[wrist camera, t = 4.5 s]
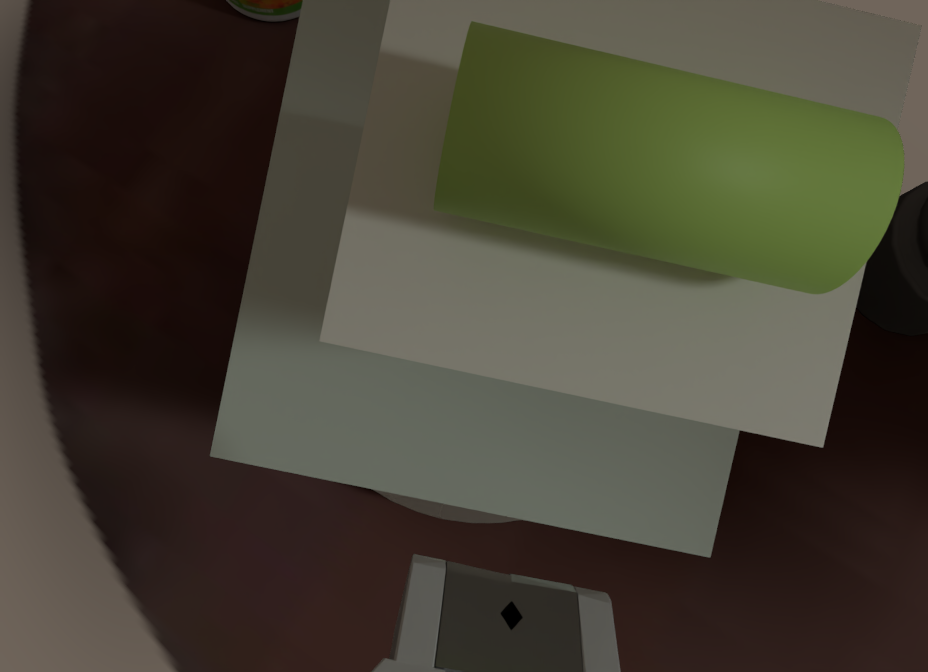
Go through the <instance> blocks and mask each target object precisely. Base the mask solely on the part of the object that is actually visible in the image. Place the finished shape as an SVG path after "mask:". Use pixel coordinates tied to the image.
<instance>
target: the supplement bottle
mask: <svg viewBox="0 0 928 672" xmlns="http://www.w3.org/2000/svg"><path fill="white" fill-rule="evenodd" d="M226 1H227V2H228V3H229V4H230V5H231V6H232V7H233V8H235V9H236V10H237V11H239V12H240V13H242V14H244V15H246V16H249V17H251V18H254V19H258V20H262V21H270V22H277V21H286V20H291V19H294V18H297V17H300V12H301V7H302V2H303V0H226Z"/></svg>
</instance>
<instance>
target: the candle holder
mask: <svg viewBox="0 0 928 672" xmlns="http://www.w3.org/2000/svg"><path fill="white" fill-rule="evenodd" d="M856 307H857V308H858V309H859V311H860V312H861V313H862V315H863V316H865V317H866V318H868V319H869V320H871V321H872V322H874V323H875V324H877V325H878V326H880V327H881V328H883V329H884V330H887V331H891V332H895V333H900V334H904V335H908V336H914V335H919V334H925V333H928V182H925V183H923V184H921V185H919V186H917V187H915V188H913V189H912V190H910V191H908V192H906V193H904V194H903V195H901V196H899V199H898V203H897V206H896V209H895V211H894V214H893V217H892V219H891V221H890V224H889V226H888V228H887V230H886V232H885V234H884V236H883V238H882V239H881V241H880V243H879V245H878V246H877V248H876V249H875V251H874V252H873V254H872V255H871V257H870V258H869V259H868V260H867V262H866V266H865V271H864V275H863V279H862V283H861V288H860V292H859V296H858V300H857V305H856Z"/></svg>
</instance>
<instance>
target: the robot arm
mask: <svg viewBox="0 0 928 672" xmlns="http://www.w3.org/2000/svg"><path fill="white" fill-rule="evenodd" d="M371 672H620V665H619V657H618V650H617V642H616V635H615V627H614V620H613V612H612V605H611V600H610V598H609V596H608V594H607V593H605V592H600V591H595V590H589V589H584V588H579V587H573V586H572V585H568V584H563V583H557V582H552V581H546V580H541V579H536V578H530V577H525V576H519V575H514V574H509V575H507V574H502V573H498V572H493V571H489V570H484V569H480V568H476V567H471V566H467V565H462V564H458V563H454V562H449V561H447V562H446V561H445V560H440V559H435V558H430V557H426V556H421V555H416V554H413V556H412V559H411V563H410V567H409V571H408V575H407V579H406V583H405V588H404V592H403V596H402V600H401V604H400V609H399V613H398V618H397V622H396V626H395V631H394V636H393V642H392V647H391V652H390V658H389V659H386V658H383V659H382V661H381V662H380V663H379V664H378V665H377V666H376V667H375V668H374V669H373V670H372V671H371Z"/></svg>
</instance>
